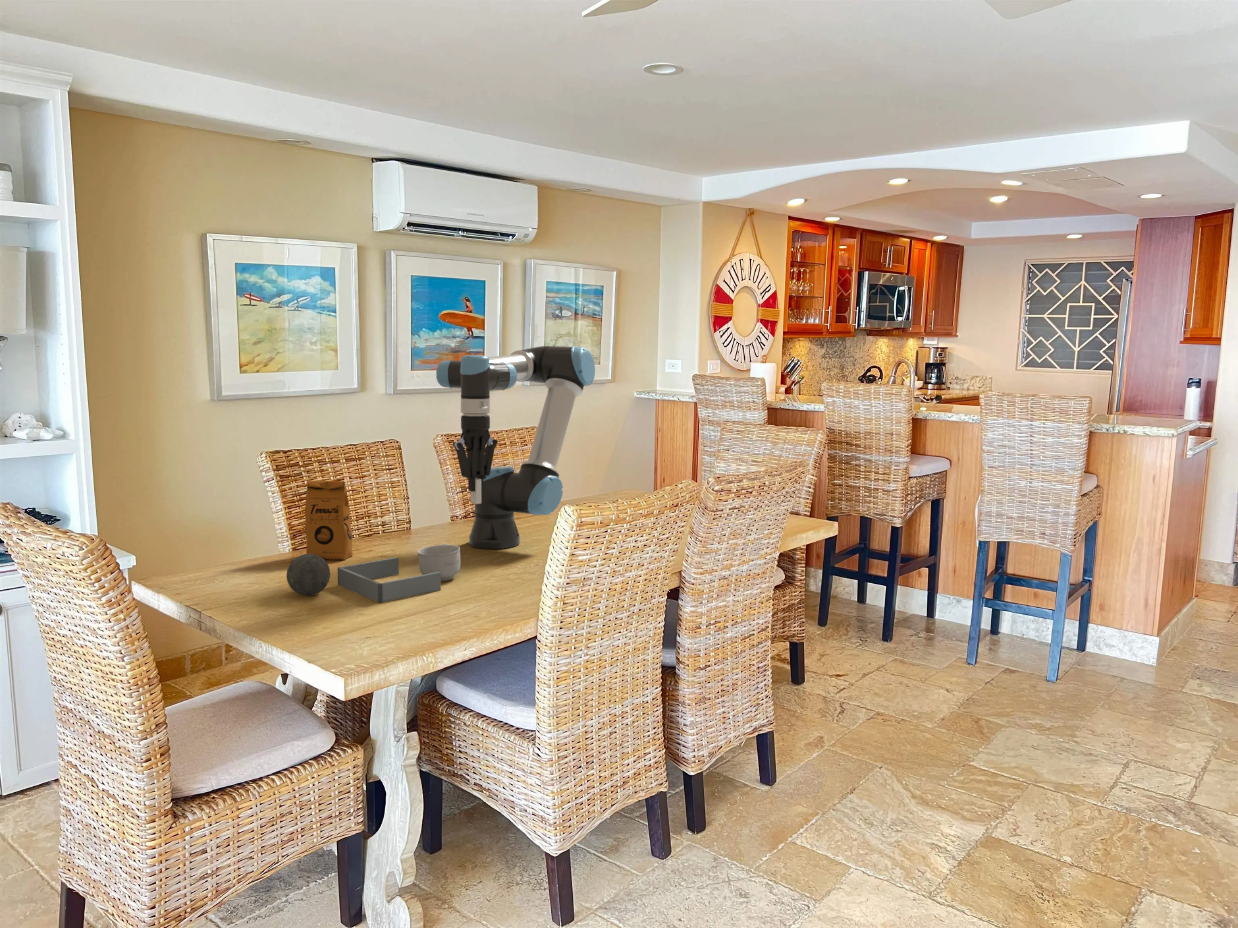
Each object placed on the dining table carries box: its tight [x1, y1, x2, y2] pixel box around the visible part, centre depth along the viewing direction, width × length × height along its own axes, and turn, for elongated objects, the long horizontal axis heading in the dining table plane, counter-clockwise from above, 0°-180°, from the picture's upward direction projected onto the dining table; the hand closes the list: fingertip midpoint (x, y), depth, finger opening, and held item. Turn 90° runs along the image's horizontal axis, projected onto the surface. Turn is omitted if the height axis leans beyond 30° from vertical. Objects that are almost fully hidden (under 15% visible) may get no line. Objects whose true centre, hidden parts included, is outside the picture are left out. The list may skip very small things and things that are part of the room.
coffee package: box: [304, 479, 354, 561], centre depth 260 cm, size 10×12×22 cm
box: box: [337, 556, 442, 604], centre depth 232 cm, size 17×21×4 cm
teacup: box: [417, 543, 461, 582], centre depth 242 cm, size 14×11×8 cm
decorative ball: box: [286, 553, 331, 597], centre depth 224 cm, size 10×10×10 cm
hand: (476, 502), depth 247 cm, fingers closed
